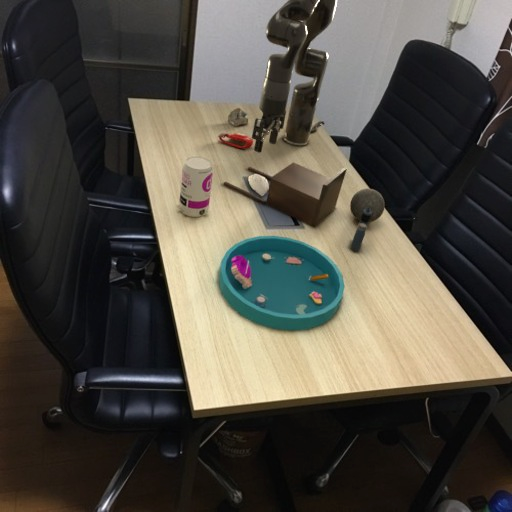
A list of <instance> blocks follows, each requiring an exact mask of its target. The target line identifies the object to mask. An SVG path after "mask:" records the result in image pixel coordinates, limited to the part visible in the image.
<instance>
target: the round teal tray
mask: <svg viewBox="0 0 512 512" xmlns="http://www.w3.org/2000/svg"><path fill="white" fill-rule="evenodd" d="M218 276H219V277H218V284H219V288H220V292H221V295H222V296H223V298H224V299H225V301H226V302H227V303H228V305H229V307H231V308H232V309H234V311H235V312H237V313H238V314H239V315H240V316H242V317H243V318H246V319H247V320H250V321H251V322H252V323H255V324H257V325H260V326H263V327H267V328H270V329H273V330H281V331H288V332H289V331H290V332H293V331H306V330H310V329H313V328H317V327H319V326H322V325H323V324H325V323H326V322H328V321H329V320H331V319H332V318H333V317H334V315H335V314H336V313H337V311H338V310H339V307H340V305H341V302H342V299H343V298H344V297H343V296H344V292H345V281H344V276H343V274H342V272H341V270H340V268H339V267H338V265H337V264H336V263H335V262H334V261H333V260H332V259H331V258H330V256H329V255H327V254H326V253H324V252H323V251H322V250H320V249H318V248H317V247H315V246H313V245H310V244H308V243H306V242H304V241H301V240H297V239H294V238H291V237H287V236H286V237H285V236H279V235H258V236H254V237H249V238H245V239H243V240H240V241H238V242H237V243H235V244H233V245H232V246H231V247H230V248H229V249H227V250H226V252H225V253H224V255H223V257H222V258H221V263H220V268H219V275H218Z"/></svg>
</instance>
